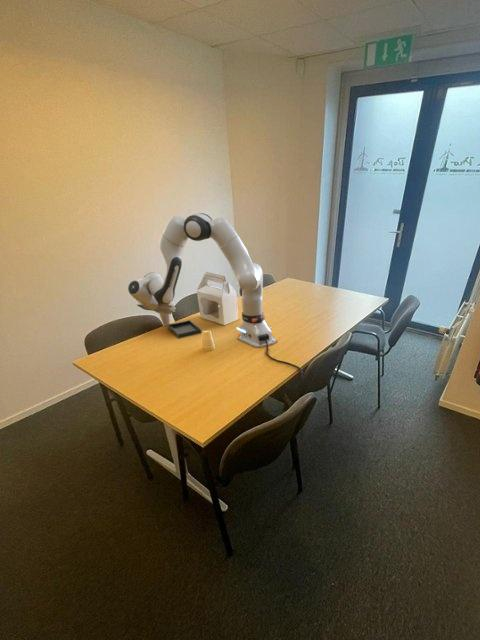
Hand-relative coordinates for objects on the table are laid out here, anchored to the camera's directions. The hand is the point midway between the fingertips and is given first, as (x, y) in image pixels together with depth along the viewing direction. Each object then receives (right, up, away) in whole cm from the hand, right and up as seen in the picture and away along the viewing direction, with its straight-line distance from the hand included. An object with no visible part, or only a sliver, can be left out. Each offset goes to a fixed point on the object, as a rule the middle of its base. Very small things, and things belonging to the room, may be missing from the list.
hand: (164, 312), depth 179 cm
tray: (+13, -11, -2) cm, 17 cm away
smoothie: (0, -7, +4) cm, 8 cm away
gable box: (+30, 0, +15) cm, 33 cm away
